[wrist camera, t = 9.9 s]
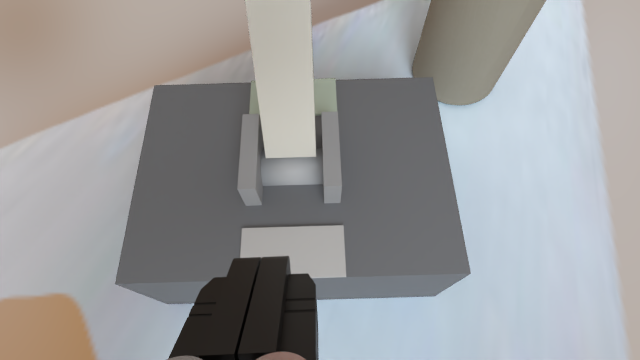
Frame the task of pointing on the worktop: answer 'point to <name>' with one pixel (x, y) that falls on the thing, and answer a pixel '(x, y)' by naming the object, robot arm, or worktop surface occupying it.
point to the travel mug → (471, 45)
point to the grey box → (296, 193)
